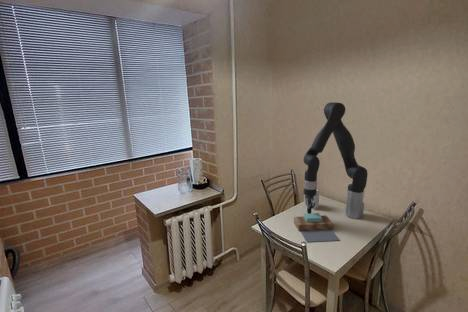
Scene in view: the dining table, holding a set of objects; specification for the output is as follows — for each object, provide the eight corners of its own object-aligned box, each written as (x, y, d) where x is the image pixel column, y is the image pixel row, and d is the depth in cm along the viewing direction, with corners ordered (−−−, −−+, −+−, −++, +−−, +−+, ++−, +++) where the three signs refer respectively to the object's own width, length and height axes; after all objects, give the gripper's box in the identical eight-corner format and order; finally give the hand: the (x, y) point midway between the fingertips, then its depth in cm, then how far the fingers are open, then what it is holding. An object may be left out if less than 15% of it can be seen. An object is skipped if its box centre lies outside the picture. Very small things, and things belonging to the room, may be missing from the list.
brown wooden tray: (325, 221, 154) (326, 215, 153) (332, 229, 144) (333, 223, 143) (293, 222, 153) (294, 216, 153) (298, 231, 144) (298, 224, 143)
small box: (318, 207, 173) (319, 189, 170) (313, 210, 169) (314, 192, 166) (308, 203, 179) (309, 186, 176) (303, 206, 176) (304, 189, 173)
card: (318, 216, 152) (318, 213, 151) (322, 221, 146) (322, 217, 145) (303, 217, 151) (303, 213, 151) (306, 222, 145) (307, 218, 145)
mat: (331, 230, 144) (331, 229, 144) (340, 240, 133) (340, 240, 133) (300, 231, 143) (300, 231, 143) (306, 242, 133) (306, 241, 132)
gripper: (320, 190, 144) (318, 218, 148) (312, 183, 157) (311, 208, 161) (307, 191, 144) (306, 218, 148) (300, 183, 157) (300, 208, 161)
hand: (309, 213), depth 154 cm, fingers closed
